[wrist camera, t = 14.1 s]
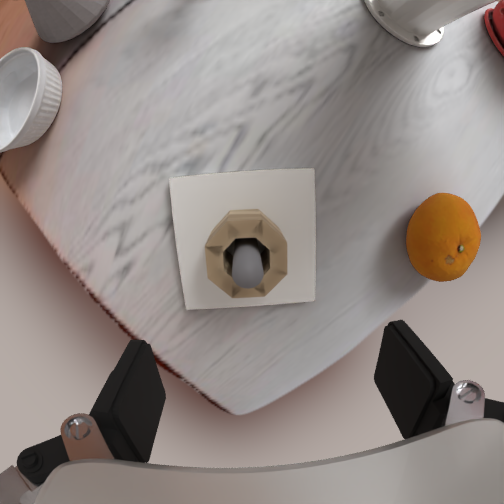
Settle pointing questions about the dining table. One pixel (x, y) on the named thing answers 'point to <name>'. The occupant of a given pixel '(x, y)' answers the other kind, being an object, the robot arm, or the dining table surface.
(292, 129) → the dining table surface
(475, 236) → the fruit
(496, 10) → the plant pot
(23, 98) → the ramekin
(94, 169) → the dining table surface
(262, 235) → the bead
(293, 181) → the post board
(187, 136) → the dining table surface
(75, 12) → the coffee pot
